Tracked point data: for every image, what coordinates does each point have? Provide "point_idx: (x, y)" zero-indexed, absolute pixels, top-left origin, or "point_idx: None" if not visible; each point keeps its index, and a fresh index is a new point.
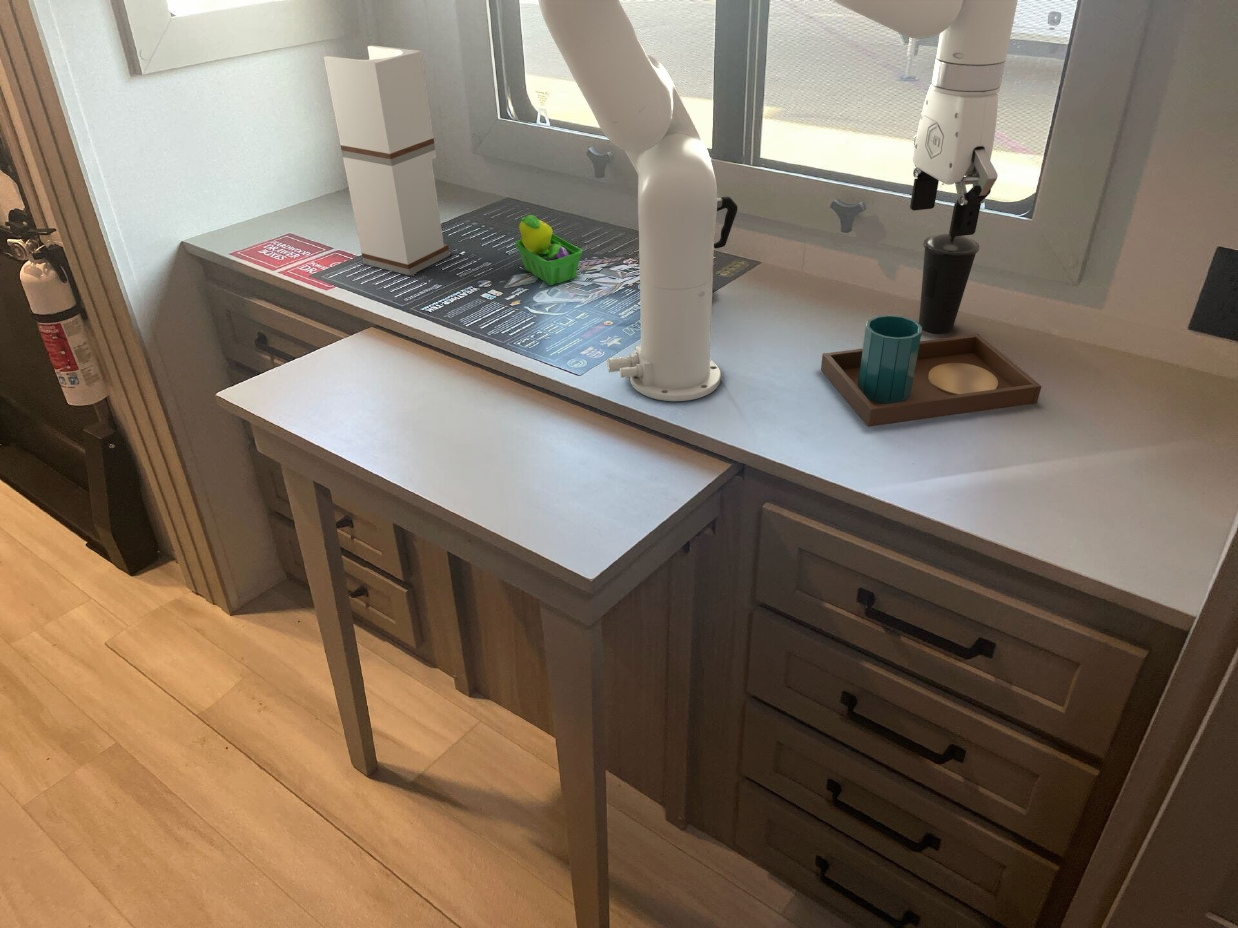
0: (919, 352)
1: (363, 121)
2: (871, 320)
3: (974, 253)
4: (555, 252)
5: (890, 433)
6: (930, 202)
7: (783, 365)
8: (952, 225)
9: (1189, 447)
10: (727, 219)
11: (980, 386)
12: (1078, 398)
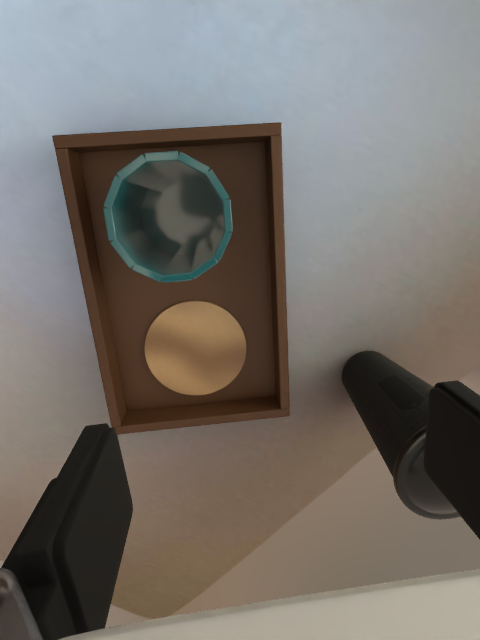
0: (274, 314)
1: None
2: (210, 178)
3: (398, 495)
4: None
5: (59, 179)
6: (442, 470)
7: (317, 67)
8: (74, 453)
9: (13, 531)
10: None
11: (168, 364)
12: (138, 471)
